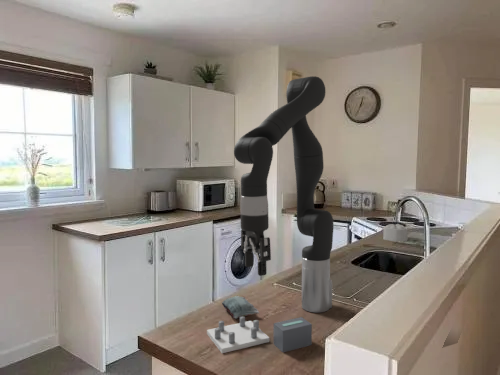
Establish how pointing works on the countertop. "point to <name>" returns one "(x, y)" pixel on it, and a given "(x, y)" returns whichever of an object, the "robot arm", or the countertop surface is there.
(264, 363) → the countertop surface
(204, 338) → the countertop surface
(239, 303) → the packaged food
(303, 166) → the robot arm
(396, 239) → the lumpy-topped squat cylinder
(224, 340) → the pegged holder plate
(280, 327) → the block
